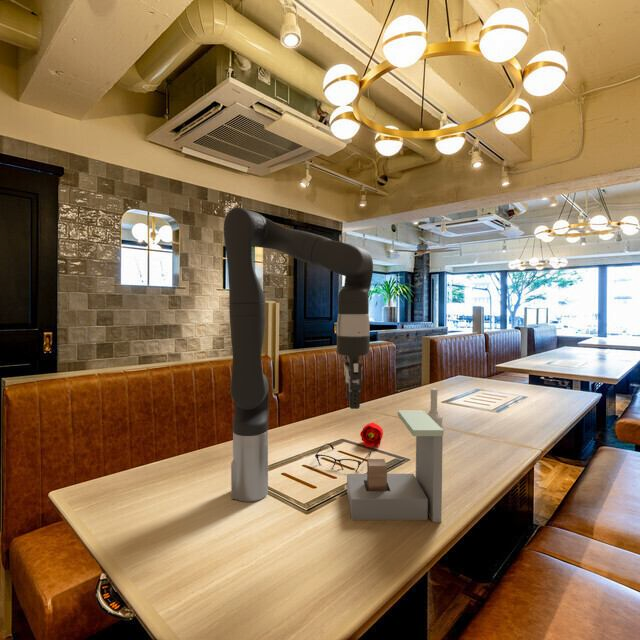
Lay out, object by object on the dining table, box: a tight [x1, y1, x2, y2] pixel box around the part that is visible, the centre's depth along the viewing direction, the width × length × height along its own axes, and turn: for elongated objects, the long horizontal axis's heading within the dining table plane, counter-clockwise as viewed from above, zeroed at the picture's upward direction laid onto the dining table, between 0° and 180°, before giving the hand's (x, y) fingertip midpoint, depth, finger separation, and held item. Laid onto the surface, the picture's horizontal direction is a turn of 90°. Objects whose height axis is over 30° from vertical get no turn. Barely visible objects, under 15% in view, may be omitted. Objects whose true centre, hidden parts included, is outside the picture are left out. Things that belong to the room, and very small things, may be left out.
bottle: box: [426, 387, 443, 429], centre depth 122 cm, size 5×5×25 cm
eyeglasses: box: [314, 443, 373, 472], centre depth 129 cm, size 16×16×4 cm
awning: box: [397, 409, 444, 523], centre depth 100 cm, size 7×17×22 cm, turn 1°
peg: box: [366, 458, 388, 491], centre depth 100 cm, size 4×4×10 cm
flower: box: [359, 422, 384, 448], centre depth 144 cm, size 8×8×8 cm
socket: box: [346, 473, 428, 521], centre depth 100 cm, size 18×14×5 cm
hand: (352, 403), depth 91 cm, fingers open, 8 cm apart
